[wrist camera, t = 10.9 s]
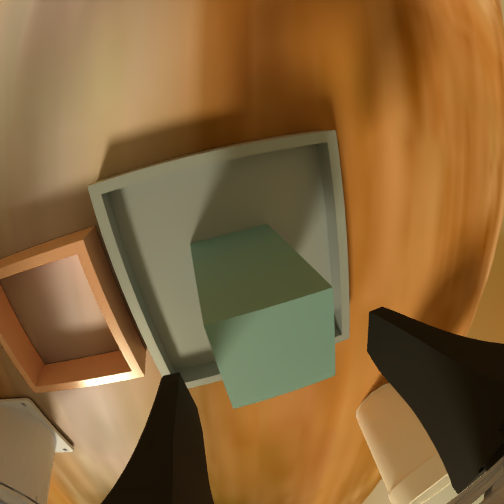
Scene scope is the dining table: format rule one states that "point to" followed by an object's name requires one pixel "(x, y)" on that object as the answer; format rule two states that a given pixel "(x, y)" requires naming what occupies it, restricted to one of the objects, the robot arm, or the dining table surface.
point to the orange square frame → (111, 305)
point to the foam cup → (401, 448)
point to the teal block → (264, 314)
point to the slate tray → (219, 232)
